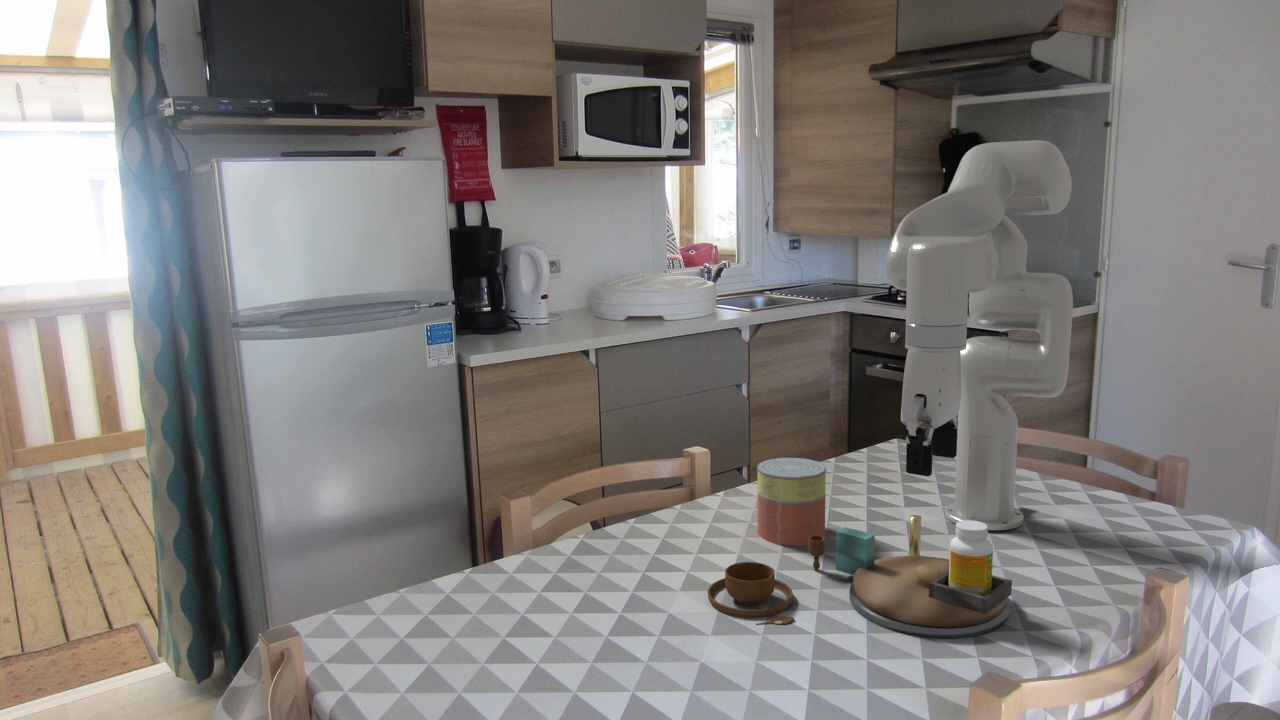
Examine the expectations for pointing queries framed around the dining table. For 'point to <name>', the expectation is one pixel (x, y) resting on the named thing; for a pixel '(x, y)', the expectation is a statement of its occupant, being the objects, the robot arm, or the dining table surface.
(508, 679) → the dining table surface
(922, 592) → the turntable plate
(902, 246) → the robot arm
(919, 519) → the flange base
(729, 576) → the place setting
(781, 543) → the canned food
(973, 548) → the supplement bottle
